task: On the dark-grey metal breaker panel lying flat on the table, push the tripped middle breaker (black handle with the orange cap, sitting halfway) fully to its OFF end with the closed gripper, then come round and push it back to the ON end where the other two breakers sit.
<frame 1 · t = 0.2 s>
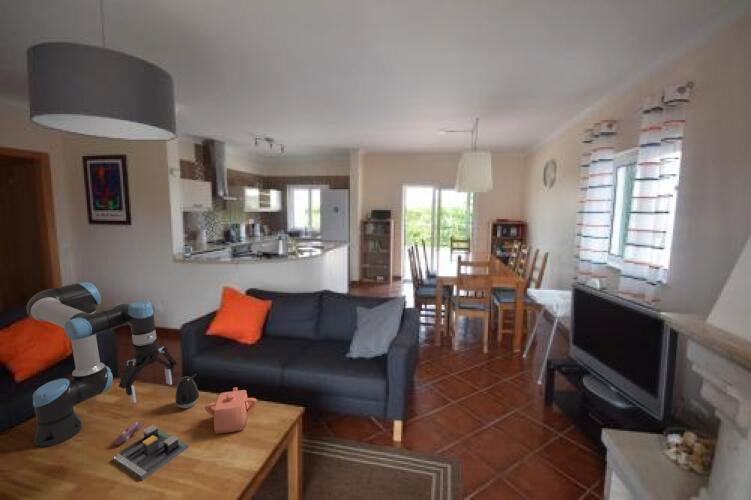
hand: (152, 392, 133), 26 cm above the table, fingers open, 13 cm apart
teapot: (233, 419, 157), on the table
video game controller: (129, 438, 145), on the table
tripped breaker: (150, 444, 135), point 4 cm above the table, slide at 0.0 cm
panel: (151, 453, 136), on the table
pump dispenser: (188, 405, 167), on the table
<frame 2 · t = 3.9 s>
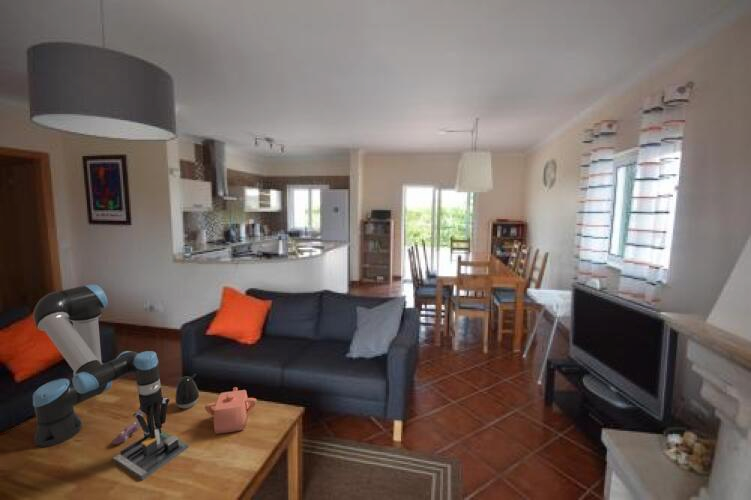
hand: (156, 442, 138), 3 cm above the table, fingers closed
tripped breaker: (149, 445, 135), point 4 cm above the table, slide at -0.4 cm, touching gripper
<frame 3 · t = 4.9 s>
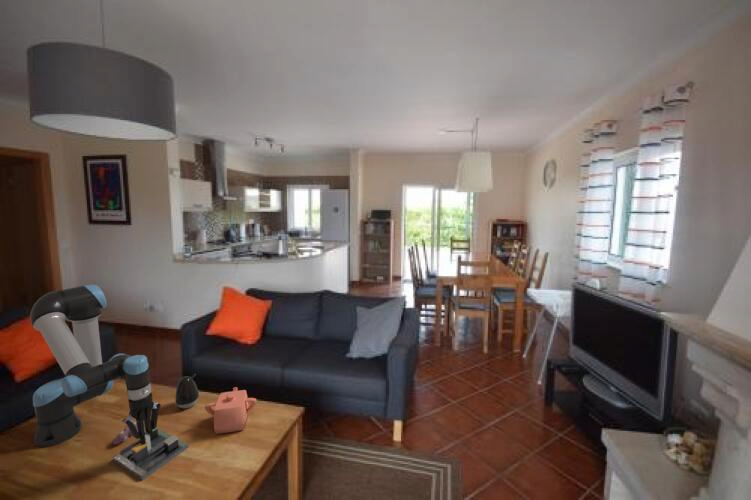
hand: (147, 448, 134), 3 cm above the table, fingers closed
tripped breaker: (139, 451, 132), point 4 cm above the table, slide at -4.0 cm, touching gripper
everything else where it was.
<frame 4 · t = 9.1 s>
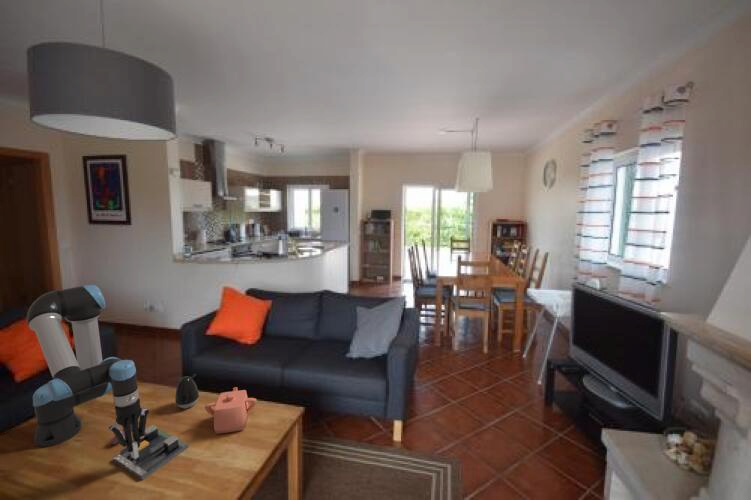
hand: (135, 456, 130), 3 cm above the table, fingers closed
tripped breaker: (142, 450, 133), point 4 cm above the table, slide at -3.1 cm, touching gripper
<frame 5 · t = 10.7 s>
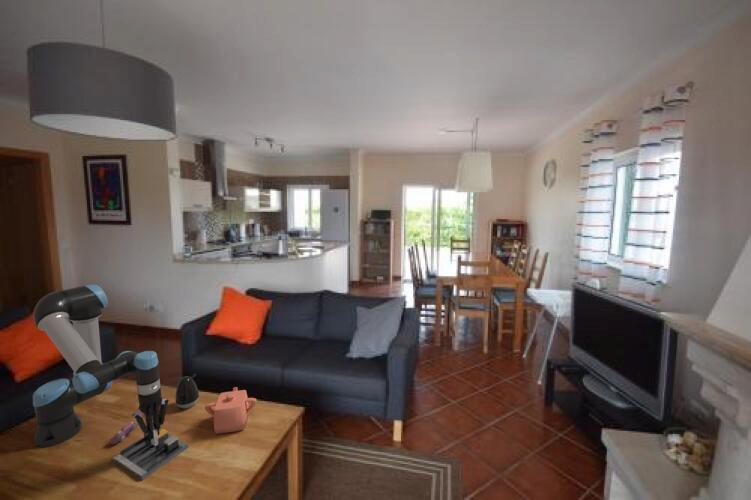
hand: (155, 443, 137), 3 cm above the table, fingers closed
tripped breaker: (161, 438, 139), point 4 cm above the table, slide at 4.3 cm, touching gripper
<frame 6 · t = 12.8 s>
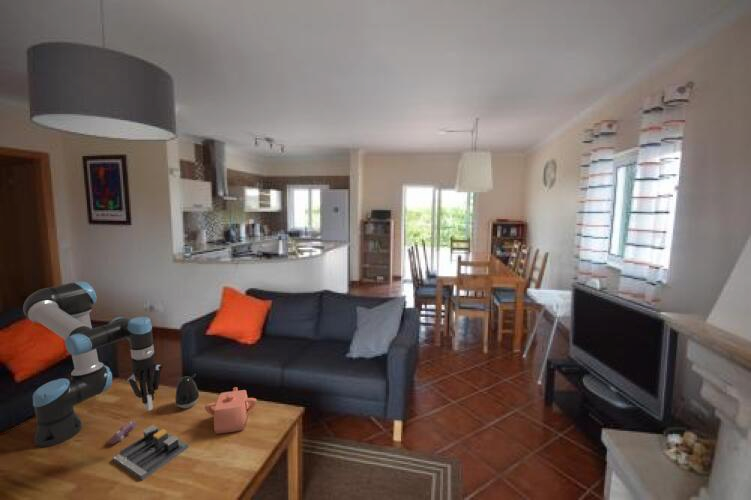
hand: (149, 408, 138), 17 cm above the table, fingers closed
tripped breaker: (160, 438, 139), point 4 cm above the table, slide at 4.0 cm
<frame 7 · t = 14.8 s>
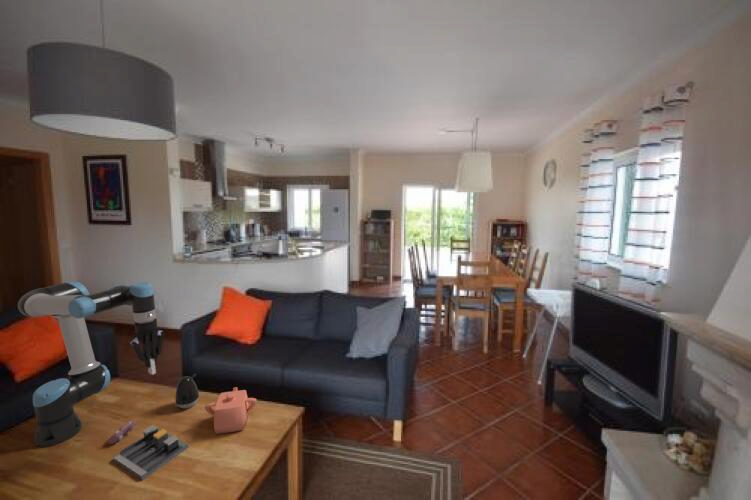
hand: (152, 373, 142), 29 cm above the table, fingers closed
at the end: tripped breaker slide at 4.0 cm; tripped breaker touching nothing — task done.
